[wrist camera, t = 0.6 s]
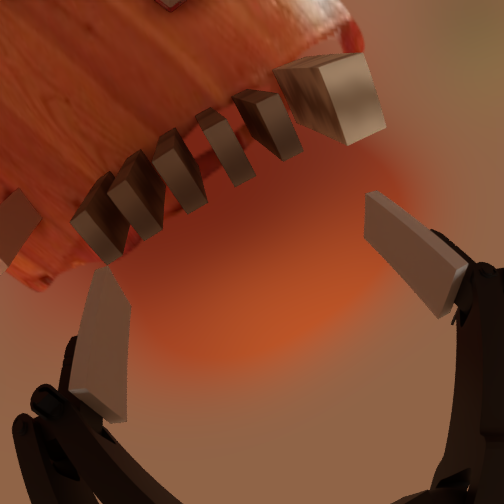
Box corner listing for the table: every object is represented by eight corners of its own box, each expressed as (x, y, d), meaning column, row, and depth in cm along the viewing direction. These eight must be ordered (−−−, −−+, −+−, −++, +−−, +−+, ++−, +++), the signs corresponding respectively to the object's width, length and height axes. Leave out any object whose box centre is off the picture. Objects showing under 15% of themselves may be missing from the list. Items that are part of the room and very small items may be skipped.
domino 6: (231, 96, 32) (255, 103, 22) (247, 89, 32) (278, 93, 22) (252, 136, 35) (283, 161, 26) (267, 129, 35) (303, 151, 26)
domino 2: (97, 180, 33) (69, 222, 23) (109, 170, 33) (85, 209, 23) (122, 214, 37) (107, 265, 27) (135, 205, 37) (122, 255, 27)
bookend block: (272, 69, 31) (318, 67, 20) (305, 56, 30) (362, 52, 20) (296, 122, 36) (347, 145, 25) (327, 108, 35) (386, 127, 25)
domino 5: (195, 115, 32) (202, 131, 22) (210, 107, 32) (226, 118, 22) (217, 155, 36) (235, 187, 26) (232, 146, 36) (256, 175, 26)
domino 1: (10, 196, 30) (-31, 239, 20) (18, 187, 30) (-24, 229, 20) (33, 226, 33) (0, 275, 24) (42, 218, 33) (8, 267, 24)
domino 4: (159, 136, 32) (151, 162, 23) (175, 127, 32) (173, 148, 23) (183, 174, 36) (187, 214, 26) (198, 165, 36) (208, 202, 26)
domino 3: (126, 158, 33) (106, 193, 23) (140, 149, 33) (125, 179, 23) (151, 194, 36) (144, 241, 27) (165, 185, 36) (162, 229, 27)
